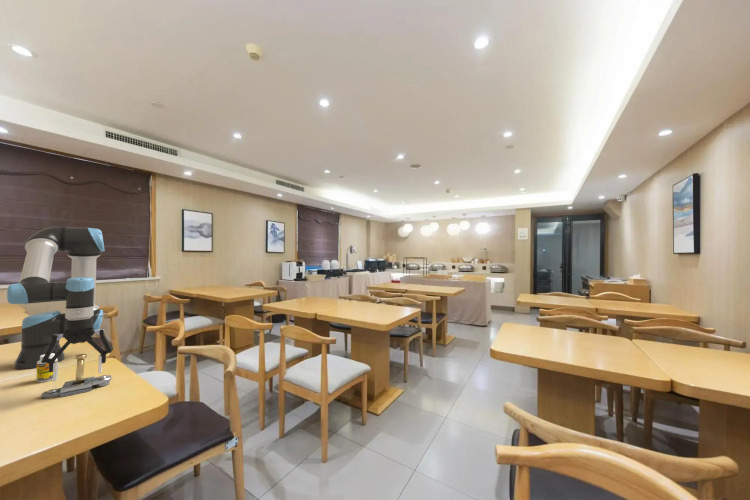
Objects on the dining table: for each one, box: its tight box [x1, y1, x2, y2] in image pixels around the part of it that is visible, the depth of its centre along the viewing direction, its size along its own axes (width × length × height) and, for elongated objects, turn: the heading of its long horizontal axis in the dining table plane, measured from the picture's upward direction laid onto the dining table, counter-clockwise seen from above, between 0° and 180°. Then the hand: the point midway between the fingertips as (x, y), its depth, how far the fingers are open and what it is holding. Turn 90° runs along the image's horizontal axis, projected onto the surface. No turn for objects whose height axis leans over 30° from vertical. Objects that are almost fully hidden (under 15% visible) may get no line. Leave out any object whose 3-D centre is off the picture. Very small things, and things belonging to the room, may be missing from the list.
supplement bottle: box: [36, 353, 57, 383], centre depth 117 cm, size 6×6×10 cm
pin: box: [74, 353, 88, 385], centre depth 109 cm, size 3×3×13 cm
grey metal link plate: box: [40, 374, 112, 400], centre depth 109 cm, size 8×18×3 cm, turn 129°
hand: (78, 375), depth 109 cm, fingers open, 11 cm apart
